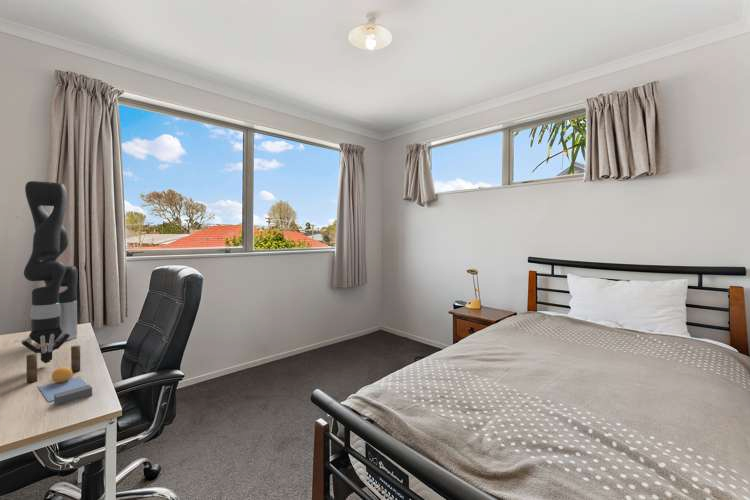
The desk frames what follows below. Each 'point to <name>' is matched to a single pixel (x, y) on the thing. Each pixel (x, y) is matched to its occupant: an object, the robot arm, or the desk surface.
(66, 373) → the ball
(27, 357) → the post
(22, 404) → the desk surface
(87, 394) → the stopper wall
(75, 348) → the post
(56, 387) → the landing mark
